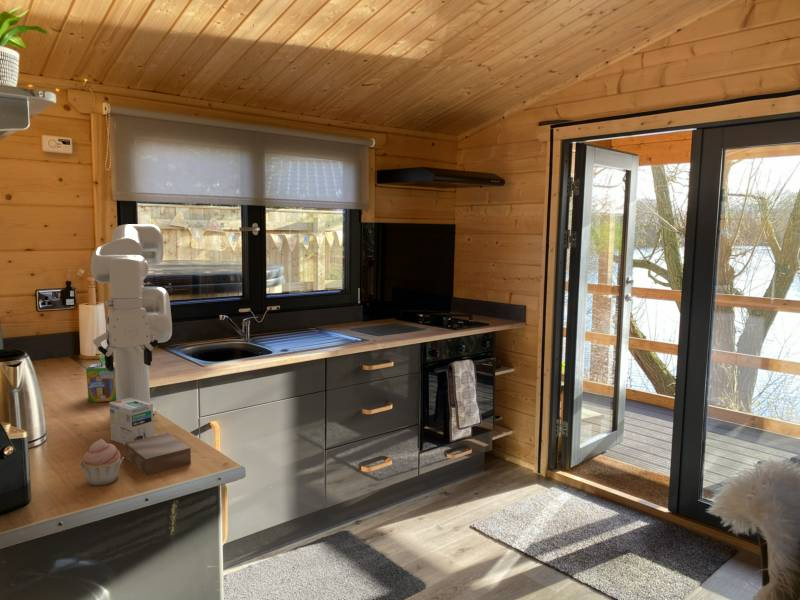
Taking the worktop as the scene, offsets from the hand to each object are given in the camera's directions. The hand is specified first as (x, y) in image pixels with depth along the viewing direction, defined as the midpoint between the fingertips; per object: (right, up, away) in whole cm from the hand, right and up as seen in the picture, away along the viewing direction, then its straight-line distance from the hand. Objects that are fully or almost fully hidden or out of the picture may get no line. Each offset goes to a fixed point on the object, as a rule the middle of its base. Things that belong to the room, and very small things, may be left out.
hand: (129, 367), depth 168 cm
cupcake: (+3, -24, -22) cm, 33 cm away
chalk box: (-25, -15, +41) cm, 50 cm away
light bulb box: (0, -21, +3) cm, 21 cm away
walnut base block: (+12, -22, -10) cm, 27 cm away
